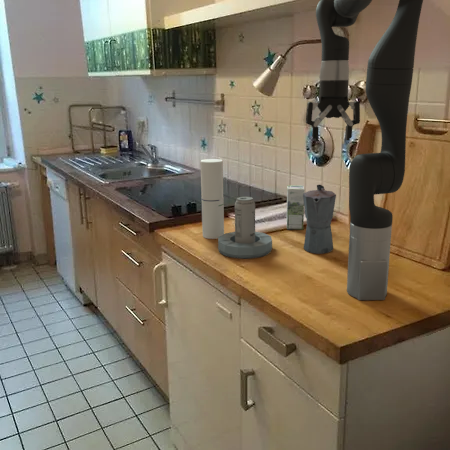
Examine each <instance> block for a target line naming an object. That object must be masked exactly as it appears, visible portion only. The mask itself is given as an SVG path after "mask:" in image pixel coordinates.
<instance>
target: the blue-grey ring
mask: <svg viewBox="0 0 450 450" xmlns="http://www.w3.org/2000/svg"><path fill="white" fill-rule="evenodd" d="M217 240H218V241H217V249H218V253H219V254H220V255H222V256H225V257H228V258H232V259H238V260H239V259H240V260H241V259H242V260H243V259H244V260H247V259H258V258H261V257H265V256H268V255H269V254H270V253H271V252H272V249H273V240H272V236H271V235H269V234H267V233H265V232H259V231H255V242H254V243H235V231H231V232H224V234H223V235H221V236H219V237H218V239H217Z"/></svg>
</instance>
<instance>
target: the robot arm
mask: <svg viewBox="0 0 450 450" xmlns="http://www.w3.org/2000/svg"><path fill="white" fill-rule="evenodd" d="M372 1H373V0H319V1H318V2H317V5H316V8H315V18H316V23H317V27H318V31H319V35H320V36H319V37H320V42H321V43H320V44H321V63H320V70H319V76H318V77H319V91H318V92H319V98H318V102H312V101H308V102H307V103H306V112H305V123H306V124H307V125H309V126H311V127H312V129H311V137H312V139H313V141H315V142H318V141H319V125H320V124H321V122H322V121H323V120H324V119H325V118H327V119H331V118H335V119H340V118H341V119H342V120H343V121H344V123H345V124H346V126H345V131H344V133H345V137H344V139H345V141H350V140H351V139H352V137H353V127H354V126H355V125H359V124H360V122H361V104H360V101H358V100H354V101H349V80H350V79H349V78H350V62H349V60H350V59H349V58H350V40H349V39H348V37H346V36H341V35H338V34H336V33H335V32H334V30H333V28H348V27H351V26H353V25H354V24H355V23H356V21H357V20H358V16H359V14H360V13H361V12H362V11H364V10H366V9H367V7H369V5H371V3H372ZM423 3H424V0H399V1H398V3H397V8H396V12H395V14H394V16H393V18H392V21H391V22H390V24H389V25H388V28H386V30H385V32H384V33H383V35H382V36H380V39H379V40H378V41H377V42H376V45H375V46H374V48H373V49H372V50H371V53H370V55H369V58H368V61H367V68H366V78H365V80H366V81H365V94H366V98H367V101H368V103H369V105H370V107H371V110H372V111H373V113H374V116H375V118H376V119H377V121H378V124H379V127H380V132H381V146H380V152H371V153H361V154H357V155H355V156H354V157H353V158H352V160H351V163H350V166H349V170H348V208H349V214H350V220H349V221H350V222H349V223H350V224H349V239H348V240H349V242H348V257H347V259H348V260H347V280H346V292H347V294H348V295H349V296H351V297H353V298H355V299H357V300H358V301H385V300H386V297H387V295H388V294H387V293H388V282H389V267H390V256H391V255H390V254H391V239H392V231H393V230H392V228H393V213H392V212H391V210H389V209H387V208H385V207H381V206H377V205H376V204H375V196H374V195H385V194H393V193H396V192H397V191H399V189H400V188H401V187H402V184H403V182H404V178H405V173H406V172H405V171H406V152H407V151H406V143H407V134H406V133H407V126H408V125H407V123H408V114H409V103H410V96H411V90H412V82H413V75H414V65H415V57H416V56H415V55H416V45H417V38H418V32H419V24H420V17H421V13H422V12H421V11H422V7H423ZM316 107H317V108H318V110H319V111H320V112H319V113H318V115H317V116H316V118H315V119H314V120H313V111H315V110H316ZM349 107H350V110H352V112H353V113H352V119H351V118H350V116H349V115H348V114H347V112H346V111H347V110H348V109H349Z"/></svg>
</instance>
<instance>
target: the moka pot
mask: <svg viewBox="0 0 450 450" xmlns="http://www.w3.org/2000/svg"><path fill="white" fill-rule="evenodd" d="M325 189H326V188H325V187H324V185H323V184H317V185H316V189H315V190H313V189H312V190H308V191H305V193H303V200H304V216H305V217H304V218H305V219H306V229H305V236H304V243H303V249H304V250H305V251H306V252H307V253H311V254H317V255H318V254H319V255H320V254H321V255H323V254H328V253H330V252H332V251H333V250H334V241H333V234H332V220H333V217H334V211H335V204H336V198H337V194H336V193H335V192H333V191H331V190H325Z"/></svg>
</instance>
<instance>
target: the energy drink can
mask: <svg viewBox="0 0 450 450" xmlns="http://www.w3.org/2000/svg"><path fill="white" fill-rule="evenodd" d="M255 202H256V201H254V198H253V197H252V196H238V197H236V201H235V202H234V232H235V243H254V242H255V232H256V203H255Z"/></svg>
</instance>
